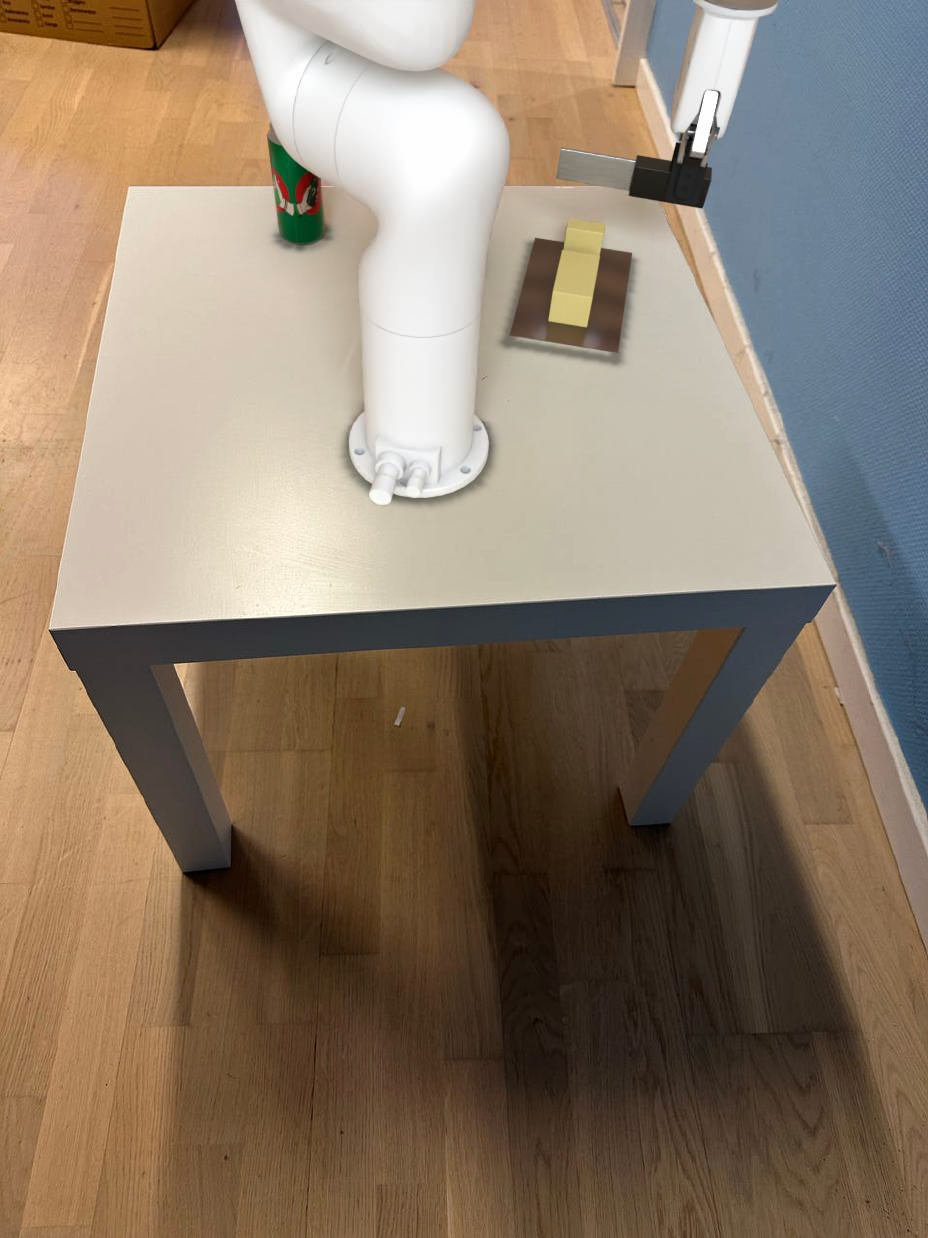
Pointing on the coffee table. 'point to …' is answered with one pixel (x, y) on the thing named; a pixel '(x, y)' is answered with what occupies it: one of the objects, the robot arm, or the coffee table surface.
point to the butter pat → (584, 236)
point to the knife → (624, 174)
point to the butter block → (574, 288)
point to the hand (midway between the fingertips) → (681, 192)
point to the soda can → (295, 196)
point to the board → (604, 305)
